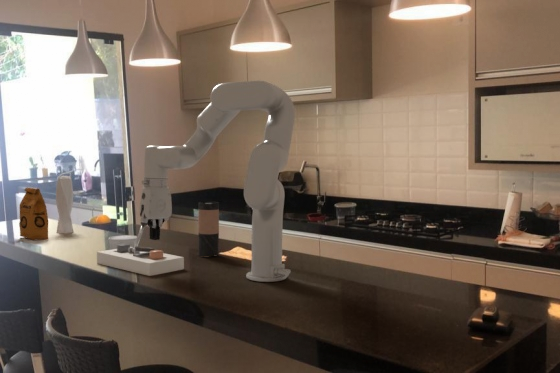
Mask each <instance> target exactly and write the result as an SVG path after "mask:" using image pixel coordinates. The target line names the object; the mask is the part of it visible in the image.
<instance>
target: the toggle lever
mask: <svg viewBox="0 0 560 373" xmlns="http://www.w3.org/2000/svg"><path fill="white" fill-rule="evenodd" d="M146 227H148V225H147V224H146V223H143V222H141V221H140V227H139V231H138V234H137V235H136V236H137V239H136V241H135V244H134V247H133V248H131V250H130V251H131V252H132V253H134V249H136V247H139V243H140V240H141V238H142V236H143V233H144V229H145V228H146Z"/></svg>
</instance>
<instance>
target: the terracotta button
mask: <svg viewBox="0 0 560 373" xmlns="http://www.w3.org/2000/svg"><path fill="white" fill-rule="evenodd" d="M163 253H164V250H160V249H154V250H152V251H150V259H152V260H159V259H163Z"/></svg>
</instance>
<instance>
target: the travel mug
mask: <svg viewBox="0 0 560 373" xmlns="http://www.w3.org/2000/svg"><path fill="white" fill-rule="evenodd" d="M219 209H220V202H218V201H207V202H202V201H199V202H198V221H197V222H198V225H197V226H198V227H197V232H198V234H197V235H198V238H197V240H198V256H199V255H200V256H214V255H218V256H219V242H220V241H219V239H220V238H219V236H220V213H219V212H220V211H219ZM200 256H199V257H200Z"/></svg>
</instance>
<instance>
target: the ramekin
mask: <svg viewBox="0 0 560 373" xmlns="http://www.w3.org/2000/svg"><path fill="white" fill-rule="evenodd" d="M137 236H138V235H129V234H128V235H126V234H125V235H123V234H122V235H114V236H109V237H108V239H107V240H108V243H109V250H113V249H117V245H118V244H130V247H134V244H135V241H136V239H137Z"/></svg>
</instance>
